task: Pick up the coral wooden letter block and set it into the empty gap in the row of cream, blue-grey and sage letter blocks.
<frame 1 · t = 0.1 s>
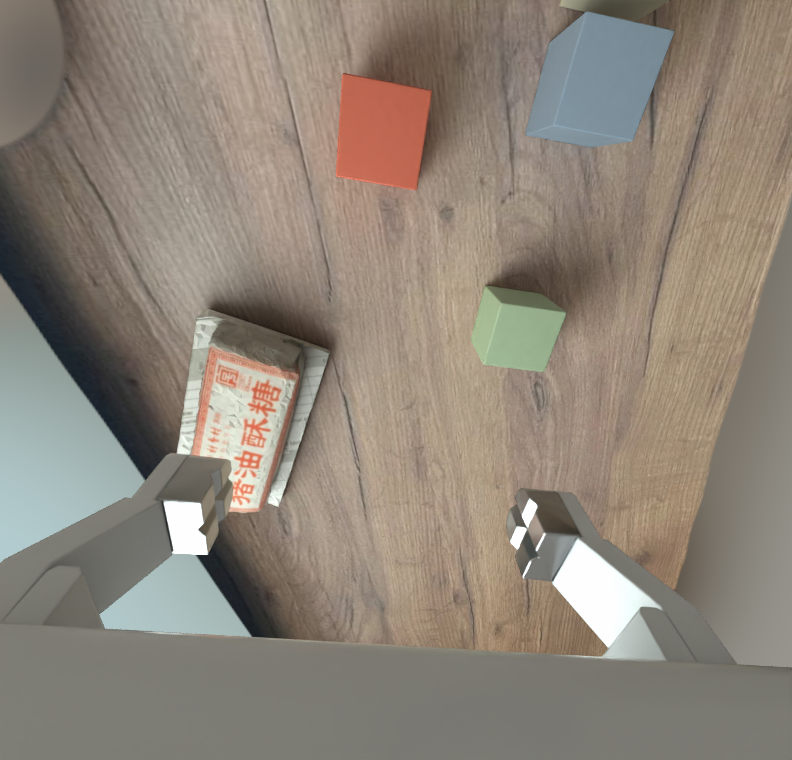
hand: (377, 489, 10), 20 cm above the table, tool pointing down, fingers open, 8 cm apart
sage block: (505, 317, 29), on the table
coral block: (382, 142, 23), on the table
blue-grey block: (571, 98, 22), on the table
packaged product: (249, 414, 33), on the table
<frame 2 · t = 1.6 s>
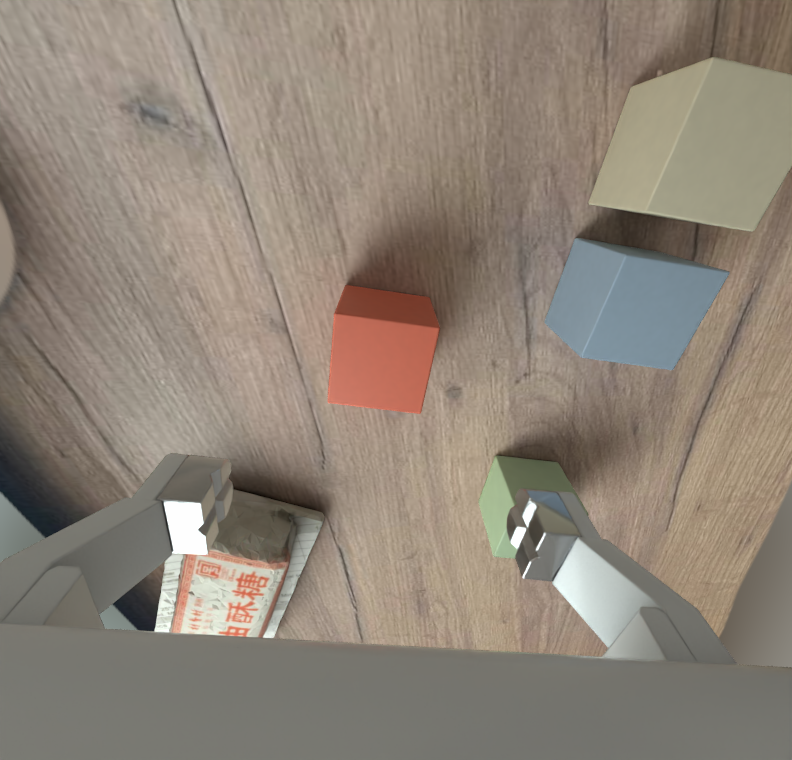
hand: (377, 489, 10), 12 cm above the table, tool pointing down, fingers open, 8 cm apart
sage block: (516, 482, 26), on the table
coral block: (382, 330, 20), on the table
blue-grey block: (598, 288, 19), on the table
packaged product: (237, 563, 30), on the table
cream block: (653, 157, 17), on the table
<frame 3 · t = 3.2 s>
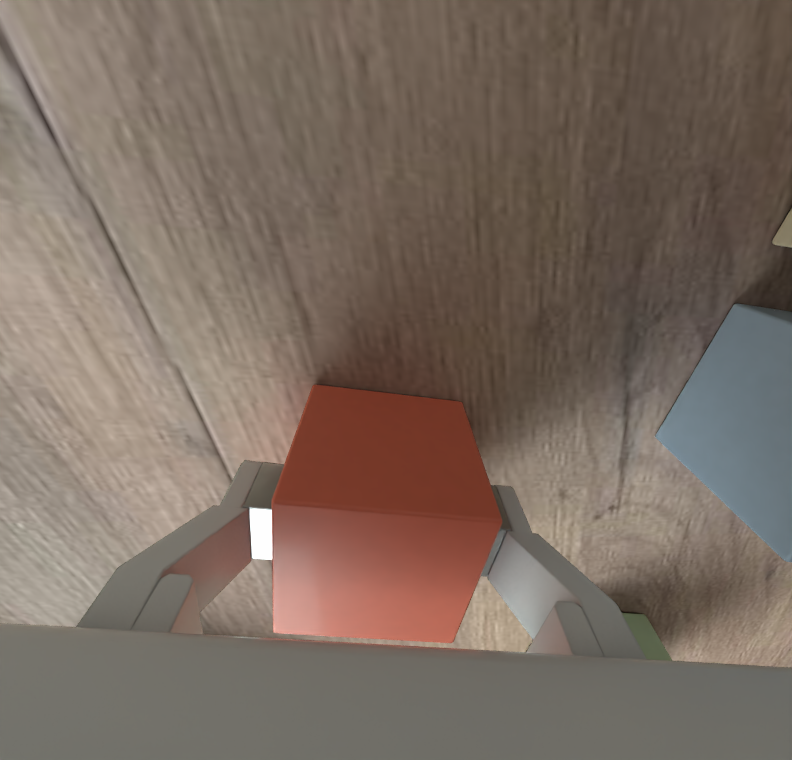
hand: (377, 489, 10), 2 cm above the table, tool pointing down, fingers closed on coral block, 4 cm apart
sage block: (580, 637, 18), on the table
coral block: (379, 451, 12), on the table, touching gripper
blue-grey block: (757, 385, 11), on the table
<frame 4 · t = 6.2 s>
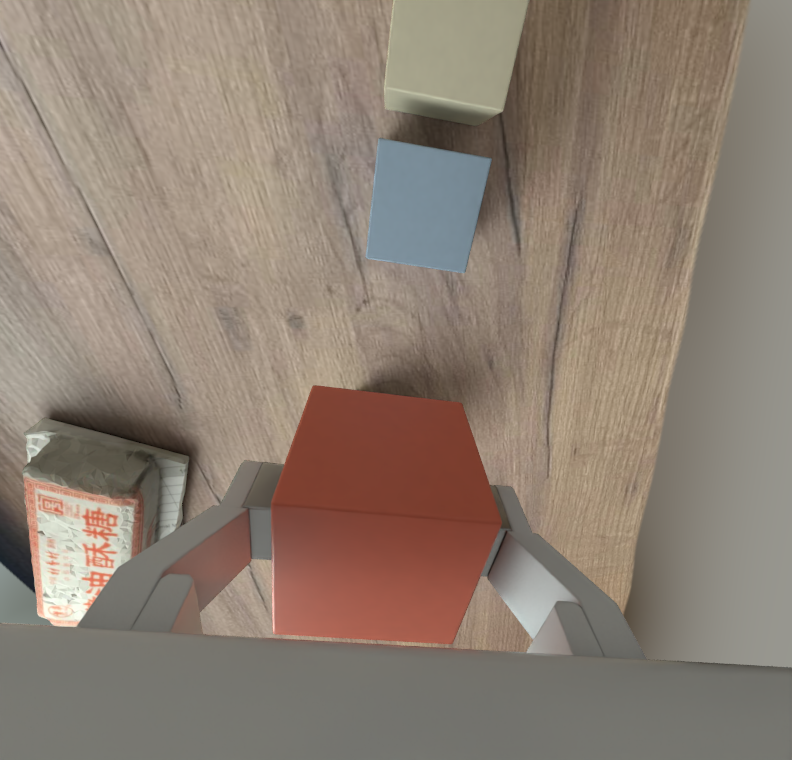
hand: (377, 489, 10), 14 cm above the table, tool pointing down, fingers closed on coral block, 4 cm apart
coral block: (379, 451, 12), point 12 cm above the table, touching gripper
blue-grey block: (417, 204, 19), on the table
packaged product: (118, 515, 30), on the table
cream block: (441, 57, 16), on the table
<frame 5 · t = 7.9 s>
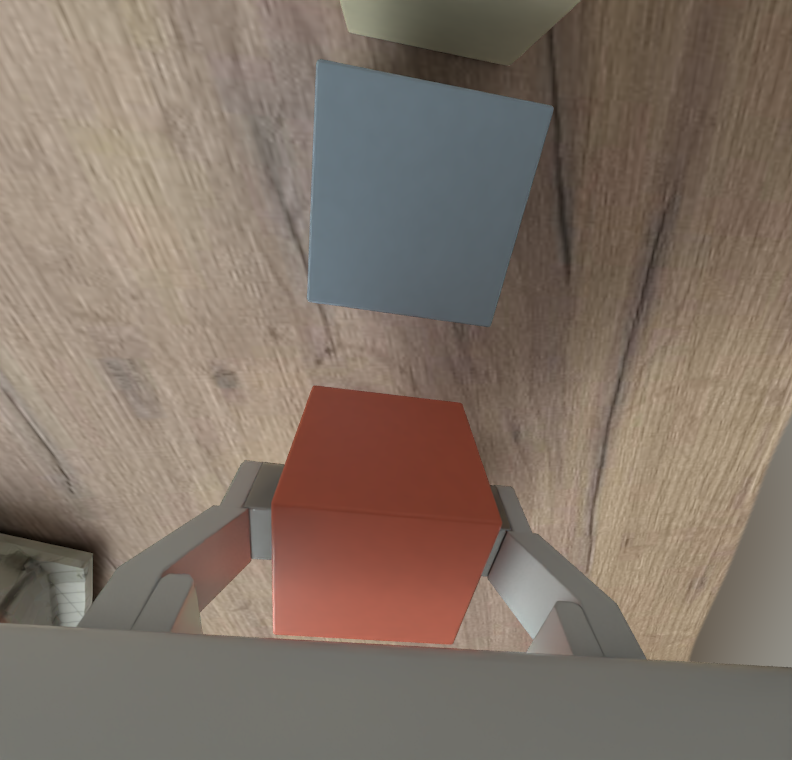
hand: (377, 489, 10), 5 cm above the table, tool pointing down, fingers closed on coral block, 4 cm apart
coral block: (379, 452, 12), point 4 cm above the table, touching gripper
blue-grey block: (407, 202, 12), on the table
packaged product: (12, 616, 22), on the table
when the fingers open (2 cm above the table, at t = 9.2 s): coral block stays where it is, on the table.
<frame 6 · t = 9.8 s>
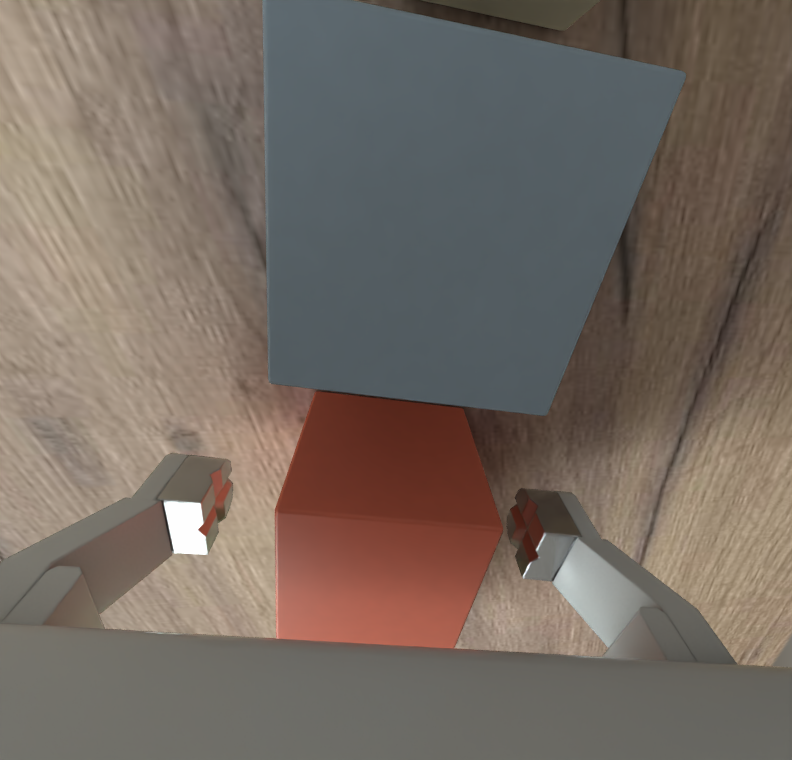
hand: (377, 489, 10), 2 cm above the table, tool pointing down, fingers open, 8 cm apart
coral block: (381, 456, 12), on the table
blue-grey block: (416, 221, 9), on the table
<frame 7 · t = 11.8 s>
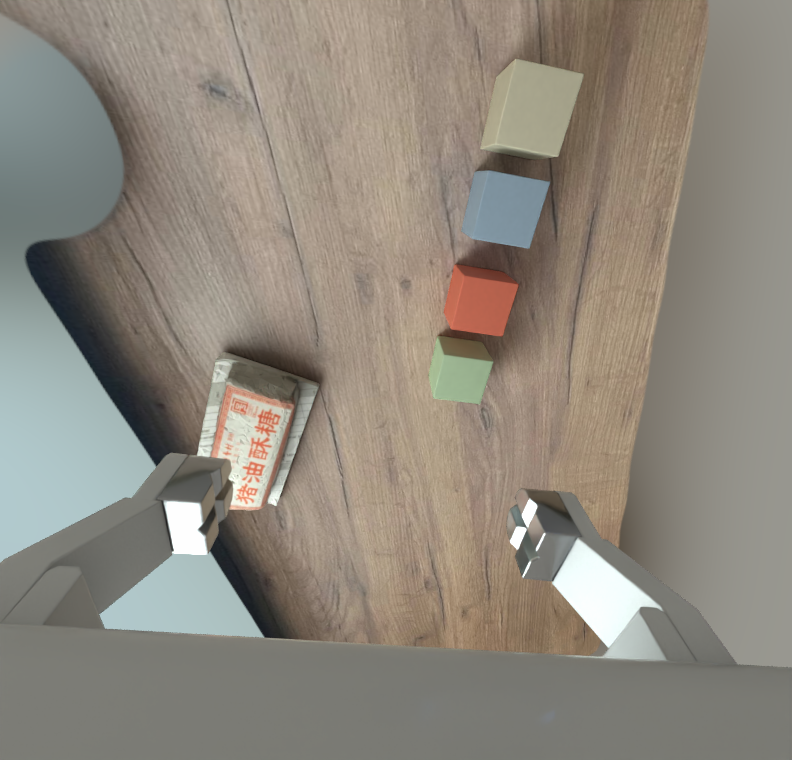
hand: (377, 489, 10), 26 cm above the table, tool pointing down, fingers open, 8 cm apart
sage block: (454, 359, 37), on the table
coral block: (472, 292, 34), on the table
blue-grey block: (494, 207, 30), on the table
packaged product: (254, 431, 41), on the table
cream block: (516, 120, 28), on the table
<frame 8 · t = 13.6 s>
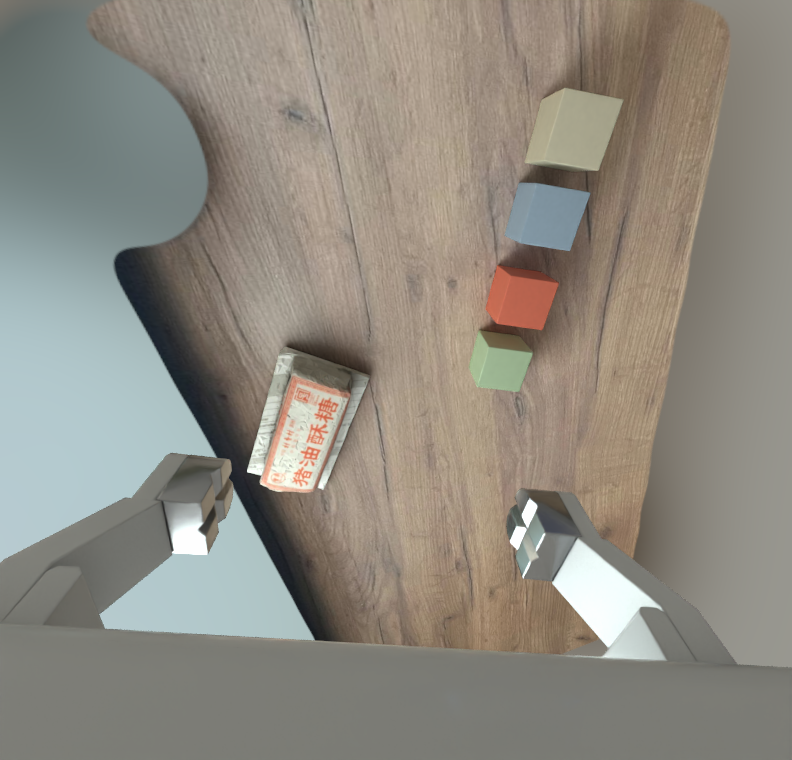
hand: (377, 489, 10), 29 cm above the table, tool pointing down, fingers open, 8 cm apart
sage block: (493, 351, 40), on the table
coral block: (512, 290, 37), on the table
blue-grey block: (534, 213, 34), on the table
packaged product: (306, 420, 45), on the table
cream block: (557, 137, 31), on the table
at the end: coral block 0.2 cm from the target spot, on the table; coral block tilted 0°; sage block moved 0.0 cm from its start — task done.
